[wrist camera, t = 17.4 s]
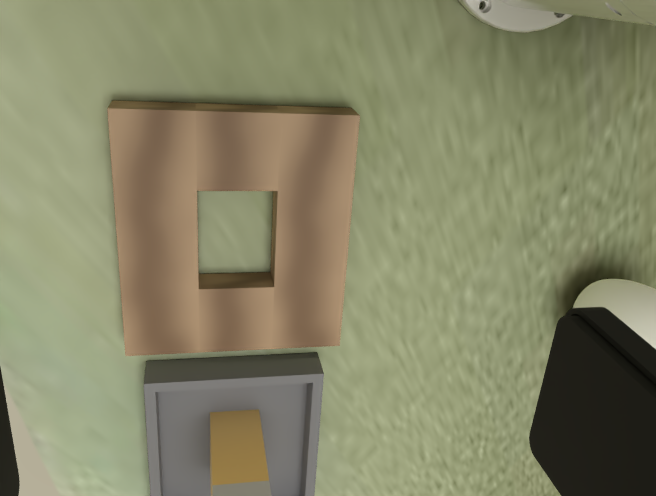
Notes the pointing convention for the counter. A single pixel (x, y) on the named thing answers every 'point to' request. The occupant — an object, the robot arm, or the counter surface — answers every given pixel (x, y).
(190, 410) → the parts tray
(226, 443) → the block
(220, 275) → the wooden plate with hole
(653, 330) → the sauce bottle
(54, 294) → the counter surface
